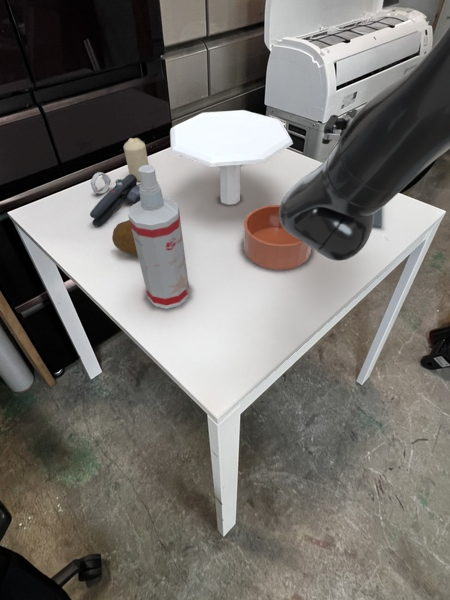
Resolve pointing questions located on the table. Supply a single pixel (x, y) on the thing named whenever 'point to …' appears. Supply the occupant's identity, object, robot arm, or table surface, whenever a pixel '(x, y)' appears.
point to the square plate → (378, 219)
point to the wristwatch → (106, 180)
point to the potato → (124, 238)
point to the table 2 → (229, 144)
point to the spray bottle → (159, 243)
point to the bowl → (272, 241)
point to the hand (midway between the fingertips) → (379, 119)
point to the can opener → (116, 198)
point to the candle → (135, 156)
